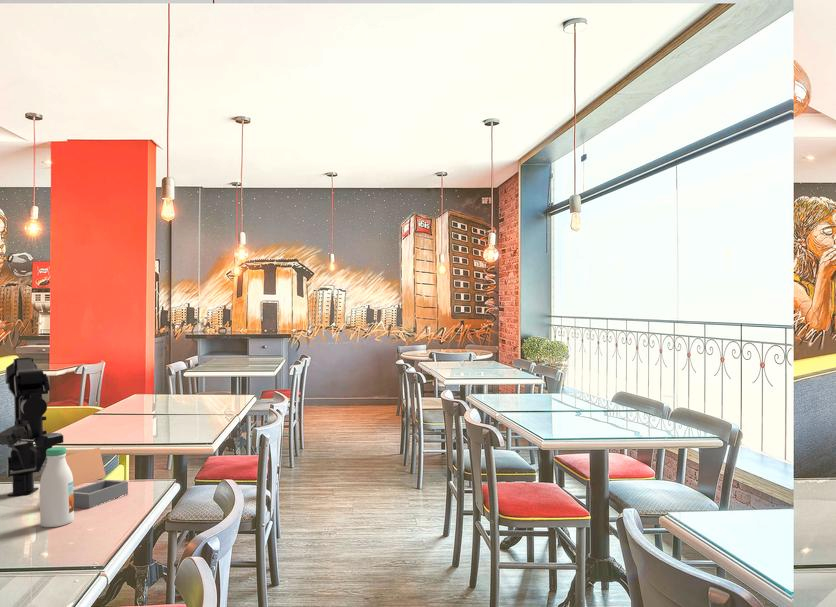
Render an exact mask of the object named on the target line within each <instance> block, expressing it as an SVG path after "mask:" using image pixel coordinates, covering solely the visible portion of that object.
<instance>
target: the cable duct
mask: <svg viewBox="0 0 836 607" xmlns="http://www.w3.org/2000/svg"><path fill="white" fill-rule="evenodd" d="M73 493H74V508H83V509H92V508H95V507H97V506H96V505H98V506H100V505H102V504H101V503H103V504H105V503H104V502H106V503H108V502H107V501H109V500H112V499H114V498H117V497H120V496H122V495H125V494H128V495H129V481H125V480H115V479H113V480H111V479H104V480H101V481H98V482H94V483H91V484H88V485H86V486H82V487H79V488H75V489H73ZM120 498H121V497H120ZM117 499H118V498H117ZM114 500H115V499H114ZM112 501H113V500H112ZM109 502H110V501H109ZM99 504H100V505H99ZM94 506H95V507H94Z"/></svg>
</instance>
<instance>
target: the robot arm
mask: <svg viewBox="0 0 836 607" xmlns="http://www.w3.org/2000/svg"><path fill="white" fill-rule="evenodd" d="M4 375H5V376H4V377H5V380H4V381H5V384H6V385H7V389H8V391H9V392H10V393H11V394H12V396H13V401H14V402H13V403H14V404H13V405H14V409H13V410H14V425H12V426H10V427H8V428H6V429H5V430H3V431H0V445H1V446H4V445H6V446H7V447H8V448H10V450H9V457H7V459H6V477H8V478H9V477H10V478H11V477H12V480H11V481H12V491H11V492H9V493H8V494H7V496H8V497H11V496H12V497H13V496H22V495H23V496H25V495H31V494H33V493H34V492H36V491H38V490H39V487H38V486H37V487H35V484H34V483H35V482H34V481H35V478H34V475H35V473H40V472H41V471H42V467H43V465H44V463H45V461H46V459H47V458H46V457H47V455H46V450H47V449H49V448H53V447H55V446H56V445H59V444H64V435H63V434H62V433H61V432H50V433H47V430H44V424H43V423H44V421H47V415H46V416H44V414H46V412H47V410H48V404H47V401H46V400H45V399H44V398H43V395H48V394H49V391H50V389H51V388H50V380H49V377H48V376H47V374H46V373H44V371H43V369H41V368H38V365H37V364H36V363H34V358H33V357H30V356H29V357H28V356H26V357H16V358H14V359H13V362H12V363H11V364H9V365H8V366H7V367H5V374H4ZM34 444H35V445H34Z"/></svg>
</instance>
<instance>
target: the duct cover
mask: <svg viewBox="0 0 836 607" xmlns="http://www.w3.org/2000/svg"><path fill="white" fill-rule="evenodd" d="M100 448H101V447H99V446H98V447H95V448H92V449H87V450H84V451H80V452H76V453H72V454H66V456H65V459H66V462H67V465H68V467H69V468H70V470H71V472H72V476H73V488H75V487H78V486H81V485H85V484H88V483H90V482H94V481H98V480H101V479H105V478H106V477H107V476H106V471H105V466H104V462H103V458H102V452H101V449H100Z"/></svg>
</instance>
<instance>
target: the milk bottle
mask: <svg viewBox="0 0 836 607" xmlns="http://www.w3.org/2000/svg"><path fill="white" fill-rule="evenodd" d="M46 455H47V457H46V459H47V460H46V464H45V467H44V470H43V471H42V474H41V476H40V482H39V509H40V510H39V512H40V513H39V516H40V517H39V518H40V521H39V522H40V526H41V527H42V528H55V527H61V526H64V525H68V524H70V523H72V522H73V521H74V519H75V507H74V493H73V490H74V487H73V476H72V472H71V470H70V468H69V467H68V465H67V462H66V459H65V456H67V448H66V447H65V446H53V447H52V448H49V449H47V450H46Z"/></svg>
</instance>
